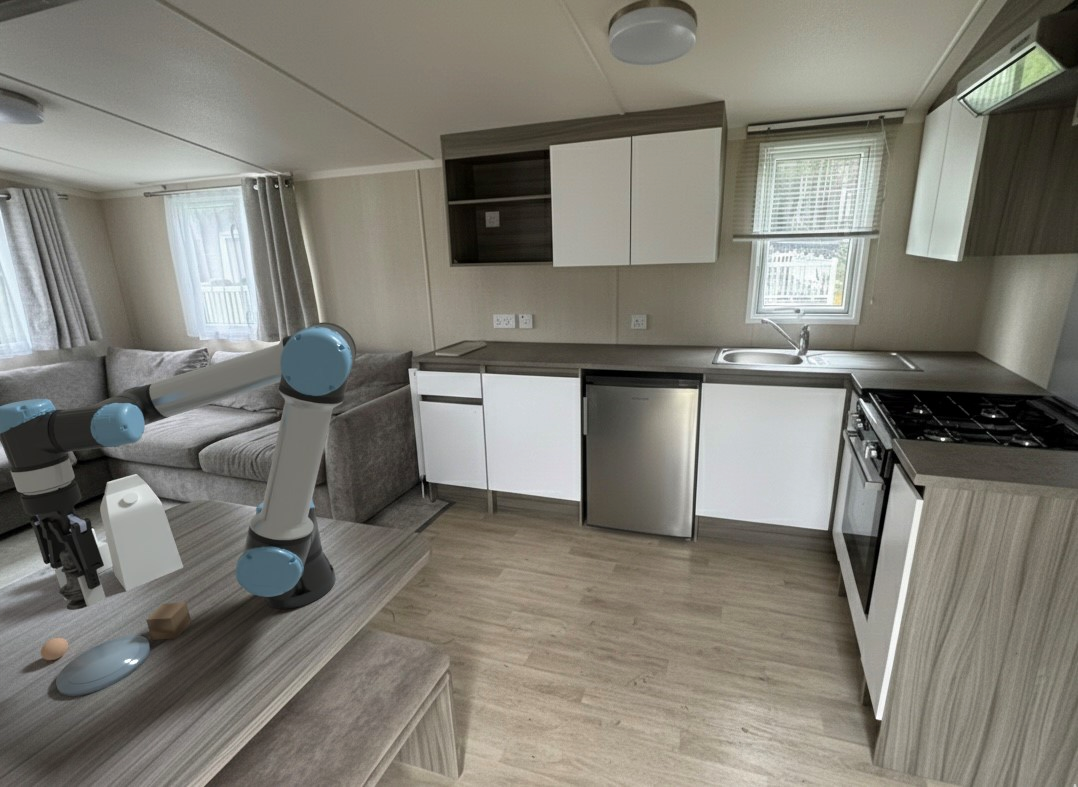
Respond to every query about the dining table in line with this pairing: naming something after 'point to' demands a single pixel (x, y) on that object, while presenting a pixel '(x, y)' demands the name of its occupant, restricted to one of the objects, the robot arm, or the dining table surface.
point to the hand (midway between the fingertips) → (85, 598)
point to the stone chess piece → (71, 583)
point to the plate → (103, 665)
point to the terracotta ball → (54, 648)
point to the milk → (137, 532)
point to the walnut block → (168, 621)
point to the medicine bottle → (103, 553)
